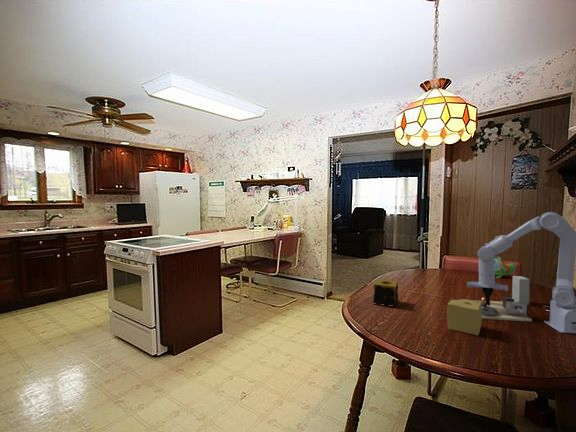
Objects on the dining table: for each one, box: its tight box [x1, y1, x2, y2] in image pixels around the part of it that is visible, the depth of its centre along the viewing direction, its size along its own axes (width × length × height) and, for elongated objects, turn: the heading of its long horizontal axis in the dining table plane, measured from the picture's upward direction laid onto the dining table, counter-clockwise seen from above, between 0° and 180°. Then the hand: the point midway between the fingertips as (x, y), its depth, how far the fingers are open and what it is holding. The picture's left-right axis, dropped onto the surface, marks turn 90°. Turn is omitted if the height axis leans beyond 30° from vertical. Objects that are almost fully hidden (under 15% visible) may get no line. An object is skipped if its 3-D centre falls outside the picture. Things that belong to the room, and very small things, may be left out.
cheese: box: [446, 298, 483, 336], centre depth 111 cm, size 10×11×10 cm
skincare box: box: [511, 275, 530, 306], centre depth 136 cm, size 6×4×12 cm
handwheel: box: [480, 296, 497, 316], centre depth 123 cm, size 9×9×5 cm
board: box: [473, 300, 533, 322], centre depth 127 cm, size 20×20×1 cm
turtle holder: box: [493, 256, 517, 279], centre depth 181 cm, size 12×18×12 cm
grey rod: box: [502, 296, 524, 313], centre depth 122 cm, size 12×3×4 cm, turn 169°
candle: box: [372, 279, 399, 307], centre depth 139 cm, size 10×10×10 cm
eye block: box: [506, 301, 528, 316], centre depth 120 cm, size 3×6×5 cm, turn 79°
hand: (487, 304), depth 126 cm, fingers closed, pressing on handwheel
